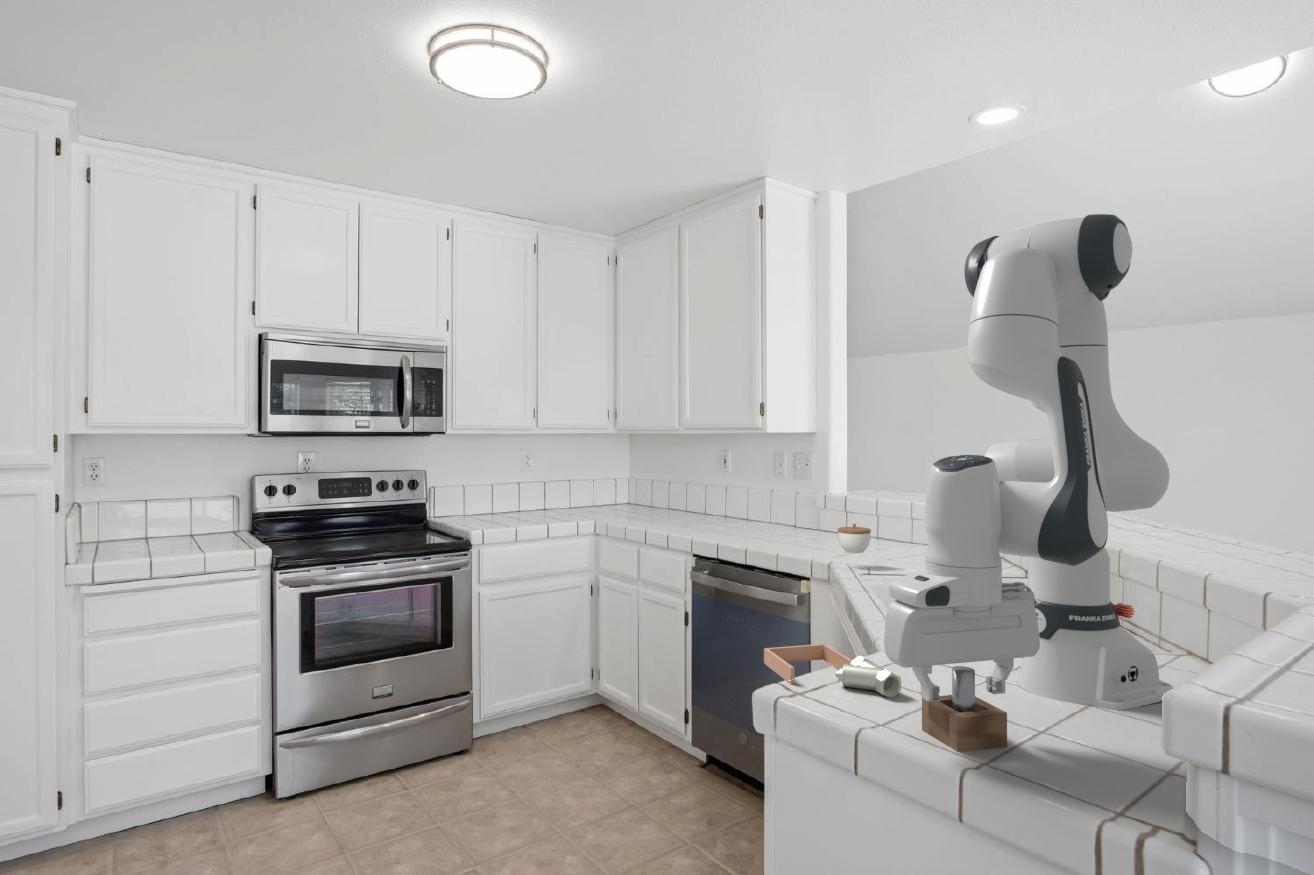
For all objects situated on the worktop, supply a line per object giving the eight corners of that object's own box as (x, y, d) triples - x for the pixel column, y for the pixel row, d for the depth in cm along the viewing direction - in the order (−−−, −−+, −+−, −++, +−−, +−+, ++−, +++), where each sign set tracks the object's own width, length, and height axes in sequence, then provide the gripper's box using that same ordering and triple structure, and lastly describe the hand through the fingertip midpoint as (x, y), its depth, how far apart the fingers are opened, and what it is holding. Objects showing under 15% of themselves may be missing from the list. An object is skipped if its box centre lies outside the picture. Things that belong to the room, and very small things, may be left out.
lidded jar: (850, 548, 251) (850, 521, 251) (877, 551, 243) (877, 524, 243) (831, 551, 244) (831, 523, 244) (858, 555, 236) (858, 526, 236)
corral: (824, 658, 125) (824, 643, 125) (856, 678, 114) (856, 662, 114) (763, 663, 122) (763, 648, 122) (790, 684, 112) (790, 668, 112)
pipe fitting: (831, 660, 112) (868, 653, 114) (831, 684, 112) (868, 677, 114) (862, 678, 104) (901, 671, 106) (862, 705, 104) (901, 696, 107)
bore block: (969, 727, 95) (969, 693, 95) (1007, 749, 88) (1007, 712, 88) (921, 732, 93) (921, 697, 93) (956, 755, 86) (956, 718, 86)
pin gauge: (965, 736, 92) (965, 665, 92) (979, 744, 89) (979, 671, 89) (948, 738, 91) (947, 666, 91) (961, 746, 89) (961, 673, 89)
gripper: (1015, 576, 96) (1015, 680, 96) (877, 584, 91) (877, 694, 91) (1052, 586, 90) (1052, 697, 90) (905, 594, 85) (906, 712, 85)
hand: (963, 695), depth 90 cm, fingers open, 8 cm apart
